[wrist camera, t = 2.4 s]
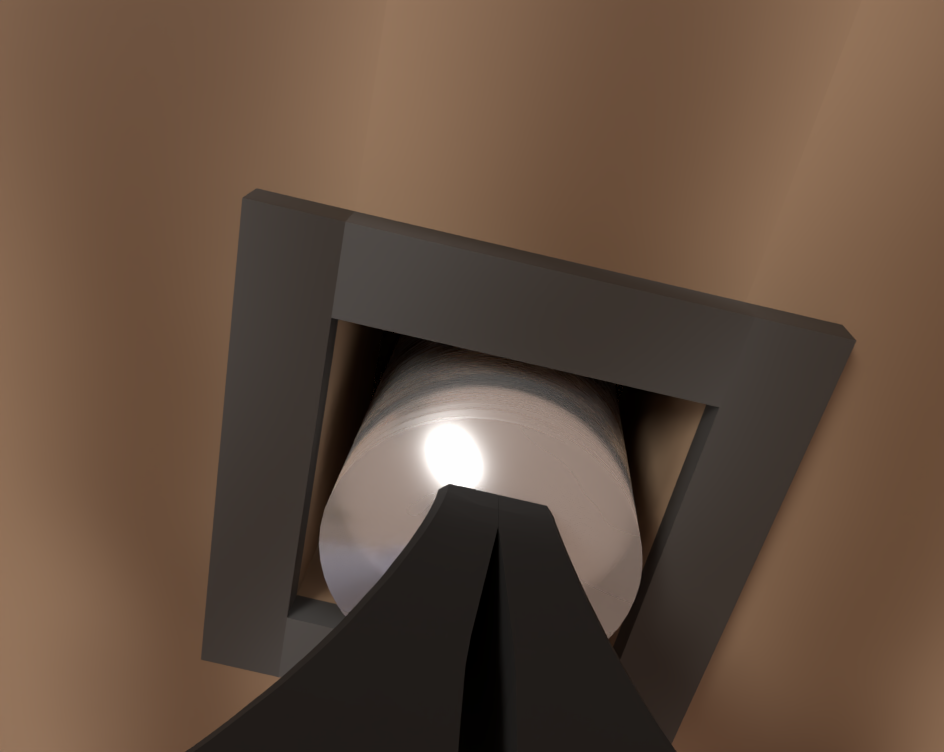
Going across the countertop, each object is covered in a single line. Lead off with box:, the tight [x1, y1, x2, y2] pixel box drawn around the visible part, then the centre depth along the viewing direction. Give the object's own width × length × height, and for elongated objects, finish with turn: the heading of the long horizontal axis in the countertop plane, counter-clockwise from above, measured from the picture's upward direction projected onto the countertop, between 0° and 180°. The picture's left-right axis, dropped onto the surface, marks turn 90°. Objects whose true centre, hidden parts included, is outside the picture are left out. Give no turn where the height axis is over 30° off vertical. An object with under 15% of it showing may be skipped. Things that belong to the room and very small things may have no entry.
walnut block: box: [0, 0, 944, 752], centre depth 13 cm, size 16×16×6 cm
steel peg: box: [319, 334, 643, 639], centre depth 12 cm, size 4×4×5 cm
